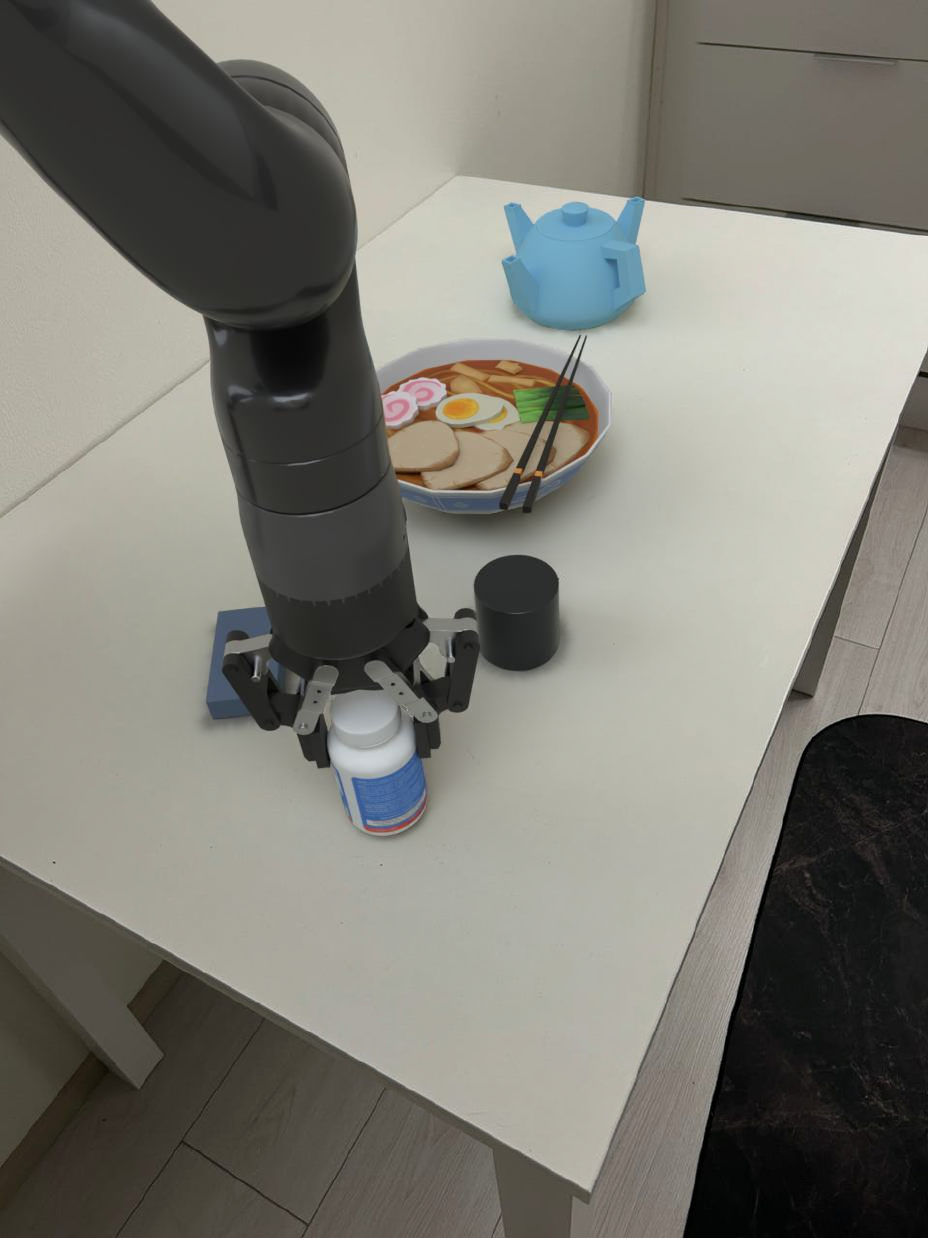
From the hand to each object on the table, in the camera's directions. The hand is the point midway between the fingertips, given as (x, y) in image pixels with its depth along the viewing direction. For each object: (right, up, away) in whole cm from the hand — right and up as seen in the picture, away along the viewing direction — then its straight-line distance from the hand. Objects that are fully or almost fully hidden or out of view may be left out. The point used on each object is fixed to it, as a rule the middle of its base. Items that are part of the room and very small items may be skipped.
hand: (375, 750), depth 59 cm
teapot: (+17, +43, +49) cm, 67 cm away
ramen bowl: (+7, +20, +28) cm, 35 cm away
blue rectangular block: (-10, +4, +14) cm, 18 cm away
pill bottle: (0, -4, +4) cm, 6 cm away
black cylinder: (+9, +6, +14) cm, 18 cm away
